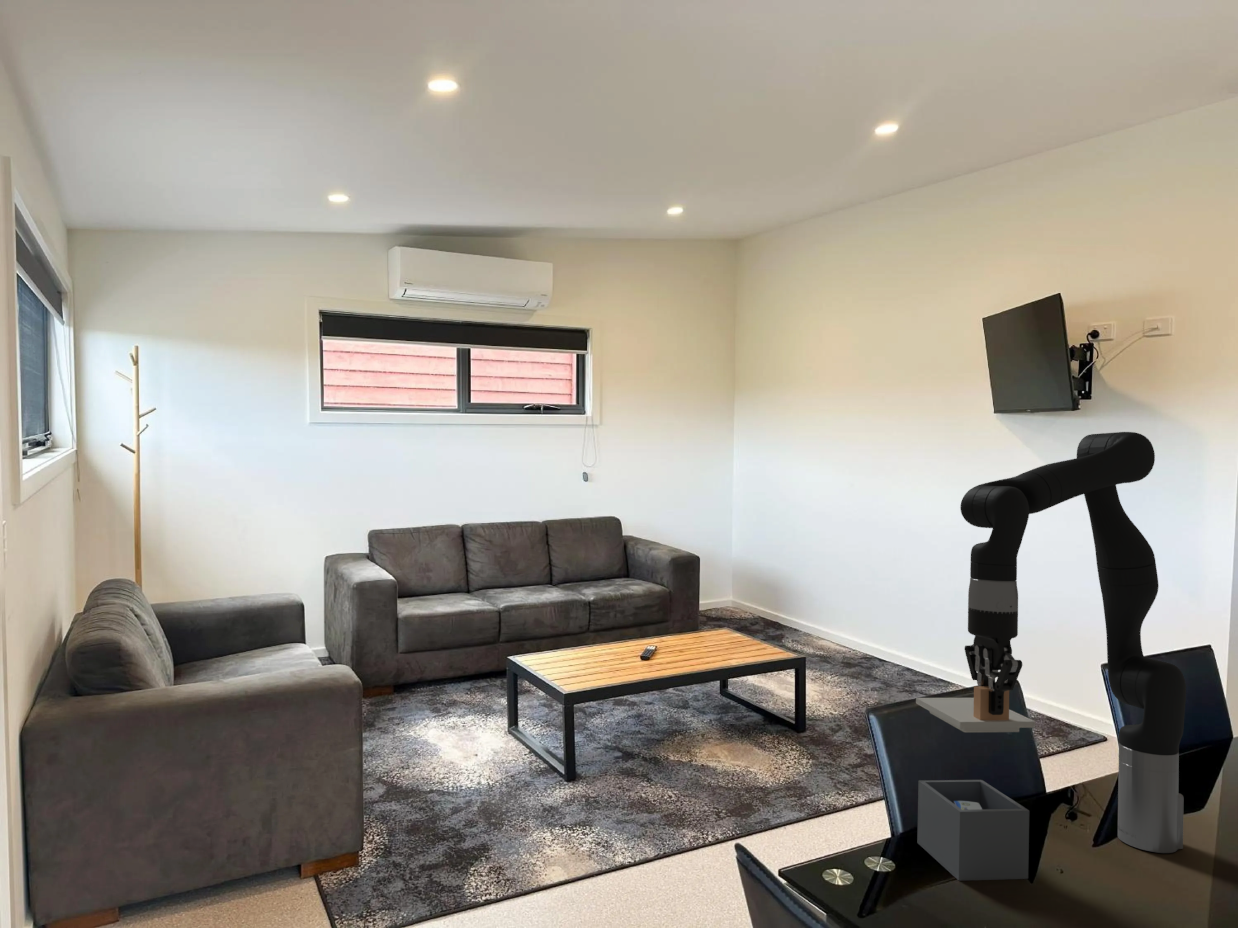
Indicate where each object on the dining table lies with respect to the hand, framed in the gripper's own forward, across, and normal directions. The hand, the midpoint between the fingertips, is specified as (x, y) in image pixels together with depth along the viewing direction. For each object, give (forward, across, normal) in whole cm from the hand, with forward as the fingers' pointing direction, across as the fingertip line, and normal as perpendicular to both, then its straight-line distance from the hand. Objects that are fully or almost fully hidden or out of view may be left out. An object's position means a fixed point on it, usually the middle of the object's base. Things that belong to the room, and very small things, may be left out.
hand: (991, 711), depth 135 cm
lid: (+3, +5, 0) cm, 6 cm away
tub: (+27, +6, 0) cm, 27 cm away
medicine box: (+27, +6, 0) cm, 28 cm away
